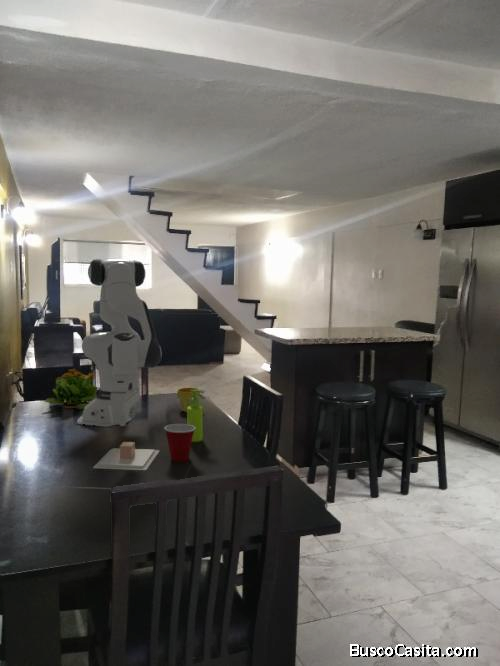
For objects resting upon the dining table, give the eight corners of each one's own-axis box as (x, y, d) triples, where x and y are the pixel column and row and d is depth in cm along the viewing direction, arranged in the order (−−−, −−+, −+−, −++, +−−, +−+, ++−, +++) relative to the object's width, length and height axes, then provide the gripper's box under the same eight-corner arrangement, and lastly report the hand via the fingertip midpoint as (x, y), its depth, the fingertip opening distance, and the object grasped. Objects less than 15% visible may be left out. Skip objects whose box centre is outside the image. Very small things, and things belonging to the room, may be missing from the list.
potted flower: (48, 416, 224) (46, 378, 221) (39, 404, 244) (37, 368, 241) (104, 408, 237) (103, 372, 235) (91, 397, 257) (90, 363, 254)
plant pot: (194, 406, 242) (194, 386, 241) (203, 411, 233) (203, 390, 232) (174, 409, 237) (173, 388, 236) (182, 414, 228) (182, 393, 227)
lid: (98, 466, 166) (97, 451, 166) (113, 450, 181) (113, 436, 181) (142, 468, 165) (142, 452, 165) (154, 451, 180) (154, 437, 180)
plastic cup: (201, 457, 177) (201, 424, 175) (185, 468, 167) (184, 433, 165) (175, 452, 181) (175, 420, 180) (158, 462, 172) (157, 428, 170)
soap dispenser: (202, 443, 190) (202, 392, 188) (185, 442, 192) (184, 391, 189) (207, 438, 196) (206, 388, 193) (190, 437, 197) (189, 387, 195)
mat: (92, 469, 165) (92, 468, 165) (111, 450, 183) (111, 448, 183) (146, 471, 164) (146, 470, 164) (159, 451, 182) (159, 450, 182)
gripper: (126, 375, 180) (127, 412, 182) (106, 388, 160) (108, 430, 162) (143, 375, 180) (144, 413, 181) (125, 388, 160) (127, 430, 161)
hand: (127, 421), depth 171 cm, fingers open, 8 cm apart
